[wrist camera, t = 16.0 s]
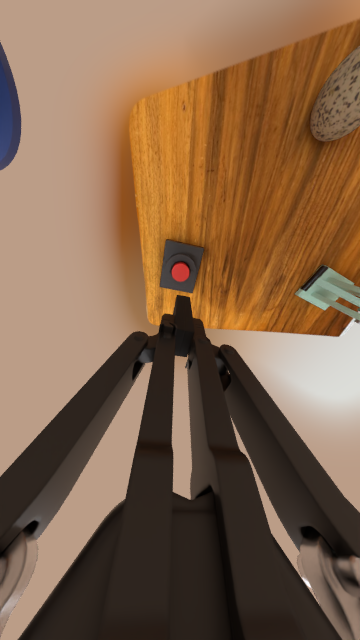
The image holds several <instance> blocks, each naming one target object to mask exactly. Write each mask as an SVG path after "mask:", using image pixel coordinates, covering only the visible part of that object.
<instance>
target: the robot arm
mask: <svg viewBox="0 0 360 640" xmlns="http://www.w3.org/2000/svg"><path fill="white" fill-rule="evenodd" d="M175 355H176V356H183V357H187V355H188V360H187V363H186V366H185V368H187V369H188V370H187V371H188V390H189V411H190V431H191V451H192V473H191V483H190V490H191V500H189V499H187V498H185V497H182V496H180V495H178V494H176V493H174V492H173V449H172V414H173V387H174V359H175ZM149 362H153V365H152V370H151V374H150V380H149V385H148V390H147V395H146V400H145V405H144V410H143V415H142V420H141V425H140V431H139V436H138V441H137V445H136V449H135V454H134V458H133V464H132V468H131V474H130V479H129V484H128V489H127V494H126V499H124V500H123V501H122V502H120V503H119V504H118V505H117V506H116V507H115V508H114V509H113V510H112V511H111V512H110V513H109V514H108V515H107V516H106V518H105V519H104V520H103V521H102V523H101V524H100V525H99V527H98V528H97V530H96V531H95V532H94V534H93V535H92V537H91V538H90V539H89V541H88V542H87V544H86V545H85V546H84V548H83V549H82V551H81V552H80V553H79V555H78V557H77V558H76V559H75V560H74V562H73V563H72V565H71V566H70V568H69V569H68V570H67V572H66V573H65V575H64V576H63V577H62V579H61V580H60V581H59V583H58V584H57V586H56V587H55V588H54V590H53V591H52V593H51V594H50V595H49V597H48V598H47V600H46V601H45V603H44V604H43V605H42V607H41V608H40V609H39V611H38V612H37V614H36V615H35V616H34V618H33V619H32V621H31V622H30V624H29V625H28V626H27V628H26V629H25V630H24V632H23V633H22V635H21V636H20V637H19V639H18V640H360V513H359V512H358V511H357V509H356V508H355V507H354V506H353V505H352V504H351V503H350V502H349V501H348V500H347V499H346V498H345V497H344V496H343V494H342V493H341V492H340V490H339V489H338V488H337V486H336V485H335V484H334V482H333V481H332V479H331V478H330V477H329V475H328V474H327V473H326V471H325V470H324V469H323V467H322V466H321V465H320V463H319V462H318V461H317V459H316V458H315V457H314V455H313V454H312V452H311V451H310V450H309V449H308V447H307V446H306V444H305V443H304V442H303V440H302V439H301V438H300V436H299V435H298V434H297V432H296V431H295V429H294V428H293V427H292V425H291V424H290V423H289V421H288V420H287V419H286V417H285V416H284V415H283V413H282V412H281V411H280V409H279V408H278V407H277V405H276V404H275V402H274V401H273V400H272V398H271V397H270V396H269V394H268V393H267V392H266V390H265V389H264V388H263V386H262V385H261V384H260V382H259V381H258V380H257V378H256V377H255V375H254V374H253V373H252V372H251V370H250V369H249V367H248V366H247V365H246V363H245V362H244V361H243V359H242V358H241V357H240V355H239V354H238V352H237V351H236V350H235V349H234V348H233V347H231V346H229V345H225V344H224V345H221V346H220V348H219V347H217V346H214V345H212V344H211V342H210V340H209V339H208V338H207V337H206V334H205V330H204V326H203V322H202V321H201V320H200V319H196V318H193V316H192V309H191V302H190V297H186V296H180V295H177V297H176V302H175V307H174V312H173V315H171V314H164V315H163V316H162V320H161V324H160V328H159V333H158V334H157V335H154V336H148V335H147V334H146V333H144V332H140V331H139V332H133V333H132V334H131V335H130V336H129V337H128V338H127V339H126V340H125V341H124V342H123V343H122V344H121V345H120V347H119V348H118V349H117V350H116V351H115V352H114V353H113V354H112V355H111V356H110V357H109V359H108V360H107V361H106V362H105V363H104V364H103V365H102V366H101V367H100V369H99V370H98V371H97V372H96V373H95V374H94V375H93V376H92V377H91V378H90V379H89V380H88V382H87V383H86V384H85V385H84V386H83V387H82V388H81V389H80V390H79V391H78V393H77V394H76V395H75V396H74V397H73V398H72V399H71V400H70V401H69V402H68V403H67V405H66V406H65V407H64V408H63V409H62V410H61V411H60V412H59V413H58V414H57V415H56V417H55V418H54V419H53V420H52V421H51V422H50V423H49V424H48V425H47V426H46V427H45V429H44V430H43V431H42V432H41V433H40V434H39V435H38V436H37V437H36V438H35V439H34V441H33V442H32V443H31V444H30V445H29V446H28V447H27V448H26V449H25V450H24V452H23V453H22V454H21V455H20V456H19V457H18V458H17V459H16V460H15V461H14V463H12V465H11V466H10V467H9V468H8V469H7V470H6V471H5V472H4V473H3V474H2V476H1V477H0V637H1V634H2V632H3V629H4V627H5V625H6V623H7V621H8V618H9V616H10V614H11V612H12V611H13V609H14V607H15V606H16V604H17V602H18V601H19V599H20V597H21V596H22V594H23V592H24V590H25V589H26V587H27V586H28V584H29V581H30V579H31V577H32V574H33V572H34V569H35V566H36V562H37V557H38V546H37V541H36V540H37V539H38V538H39V537H40V535H41V534H42V533H43V531H44V530H45V529H46V527H47V526H48V524H49V523H50V521H51V520H52V519H53V518H54V516H55V515H56V513H57V512H58V510H59V509H60V507H61V506H62V504H63V503H64V501H65V499H66V498H67V496H68V495H69V493H70V491H71V490H72V488H73V486H74V485H75V483H76V481H77V480H78V478H79V476H80V474H81V473H82V471H83V469H84V467H85V466H86V464H87V463H88V461H89V459H90V457H91V456H92V454H93V452H94V450H95V449H96V447H97V445H98V444H99V442H100V440H101V438H102V437H103V435H104V434H105V432H106V430H107V428H108V427H109V425H110V423H111V422H112V420H113V418H114V417H115V415H116V413H117V411H118V410H119V408H120V406H121V404H122V403H123V401H124V399H125V398H126V396H127V394H128V393H129V391H130V389H131V387H132V386H133V384H134V382H135V381H136V379H137V377H138V376H139V374H140V372H141V370H142V369H143V367H144V365H145V363H149ZM228 371H229V373H230V374H229V373H228ZM230 416H231V417H230ZM231 418H232V420H233V422H234V424H235V427H236V429H237V431H238V433H239V435H240V437H241V439H242V442H243V444H244V446H245V448H246V450H247V452H248V454H249V456H250V459H251V461H252V463H253V465H254V467H255V469H256V472H257V474H258V476H259V478H260V480H261V482H262V484H263V486H264V489H265V491H266V493H267V495H268V497H269V499H270V501H271V503H272V505H273V507H274V509H275V511H276V513H277V515H278V517H279V519H280V521H281V522H282V524H283V526H284V528H285V529H286V531H287V533H288V535H289V536H290V538H291V539H292V541H293V542H294V544H295V546H296V547H297V549H298V550H299V552H300V554H299V555H298V557H297V565H298V569H299V572H300V574H301V576H302V578H303V580H304V581H305V583H306V584H307V585H308V586H309V587H310V588H312V590H313V592H314V594H315V596H316V598H317V600H318V602H319V604H320V605H319V604H318V602H317V601H316V599H315V598H314V596H313V595H312V593H311V592H310V590H309V589H308V588H307V586H306V584H305V583H304V581H303V580H302V579H301V577H300V575H299V574H298V572H297V571H296V570H295V568H294V567H293V566H292V564H291V562H290V561H289V559H288V558H287V556H286V555H285V553H284V552H283V550H282V549H281V547H280V546H279V544H278V543H277V541H276V540H275V538H274V537H273V535H272V534H271V531H270V528H269V525H268V522H267V518H266V514H265V511H264V508H263V504H262V501H261V498H260V494H259V491H258V487H257V484H256V481H255V477H254V474H253V471H252V468H251V465H250V462H249V460H248V458H247V457H246V455H245V454H243V453H242V452H241V451H240V449H239V447H238V444H237V440H236V436H235V433H234V429H233V425H232V421H231Z"/></svg>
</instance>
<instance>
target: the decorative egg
mask: <svg viewBox="0 0 360 640" xmlns="http://www.w3.org/2000/svg"><path fill="white" fill-rule="evenodd" d="M359 126H360V46H359V47H357V48H356V49H355V50H354V51H353V52H351V53H350V54H349V55H348V56H347V57H346V58H345V59H344V60H343V61H342V62H341V63H340V64H339V65H338V67H337V68H336V69H335V70H334V71H333V73H332V74H331V75H330V77H329V78H328V80H327V81H326V83H325V84H324V86H323V87H322V89H321V91H320V93H319V95H318V97H317V99H316V101H315V103H314V106H313V109H312V113H311V118H310V129H311V133H312V134H313V136H314V137H315V138H316V139H317V140H320V141H333V140H336V139H339V138H341V137H343V136H345V135H347V134H349V133H350V132H352V131H353V130H355V129H356V128H358V127H359Z"/></svg>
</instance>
